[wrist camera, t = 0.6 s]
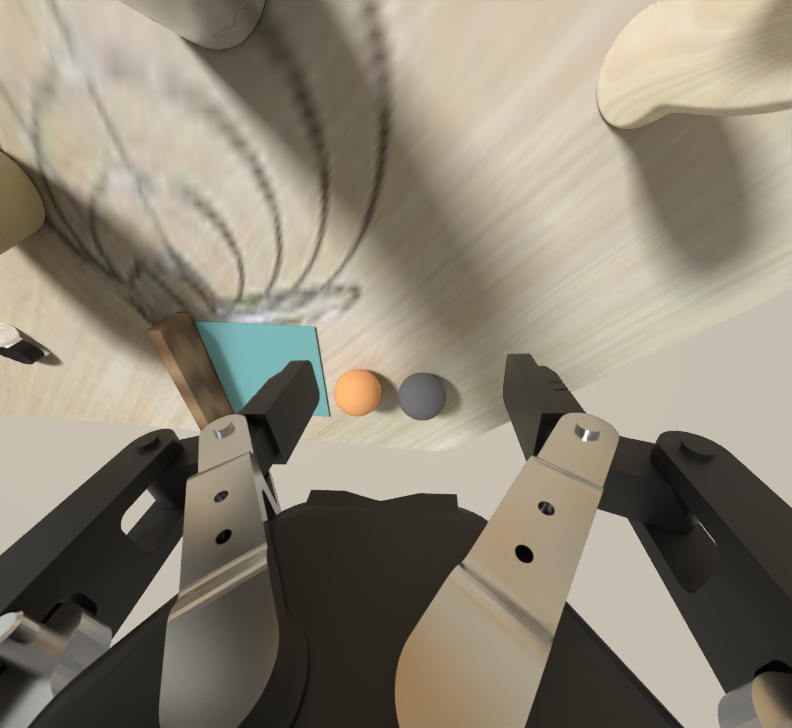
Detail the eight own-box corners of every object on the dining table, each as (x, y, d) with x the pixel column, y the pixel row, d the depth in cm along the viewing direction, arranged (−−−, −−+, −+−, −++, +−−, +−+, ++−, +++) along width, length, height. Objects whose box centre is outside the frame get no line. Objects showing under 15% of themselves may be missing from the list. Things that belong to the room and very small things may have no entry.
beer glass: (652, 150, 21) (978, 121, 9) (568, 119, 20) (789, 42, 8) (740, 12, 17) (1552, -392, 5) (639, -31, 17) (1276, -620, 4)
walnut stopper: (234, 414, 41) (215, 438, 37) (224, 413, 41) (204, 437, 37) (190, 312, 32) (159, 331, 28) (177, 312, 32) (145, 330, 28)
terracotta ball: (331, 373, 35) (318, 402, 31) (364, 352, 33) (356, 381, 29) (359, 401, 38) (351, 432, 33) (392, 383, 36) (388, 414, 31)
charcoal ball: (390, 376, 35) (386, 407, 30) (428, 356, 33) (429, 385, 28) (415, 404, 37) (414, 436, 33) (452, 387, 35) (456, 418, 31)
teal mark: (233, 409, 40) (232, 410, 40) (195, 320, 32) (194, 321, 32) (329, 415, 40) (329, 416, 40) (314, 326, 32) (314, 327, 32)
